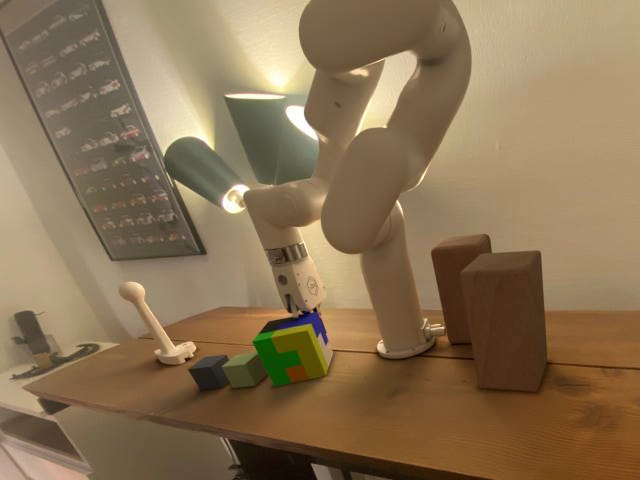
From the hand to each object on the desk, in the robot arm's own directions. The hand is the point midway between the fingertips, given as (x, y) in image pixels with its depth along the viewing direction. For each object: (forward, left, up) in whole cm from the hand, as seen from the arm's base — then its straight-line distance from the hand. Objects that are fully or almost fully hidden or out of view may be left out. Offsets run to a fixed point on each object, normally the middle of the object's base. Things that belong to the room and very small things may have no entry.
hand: (318, 335), depth 84 cm
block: (-35, 0, -4) cm, 35 cm away
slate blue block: (+19, +11, -4) cm, 22 cm away
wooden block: (-43, +18, -4) cm, 47 cm away
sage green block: (+11, +11, -4) cm, 16 cm away
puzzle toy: (0, +9, -4) cm, 9 cm away
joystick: (+41, -5, -4) cm, 41 cm away
